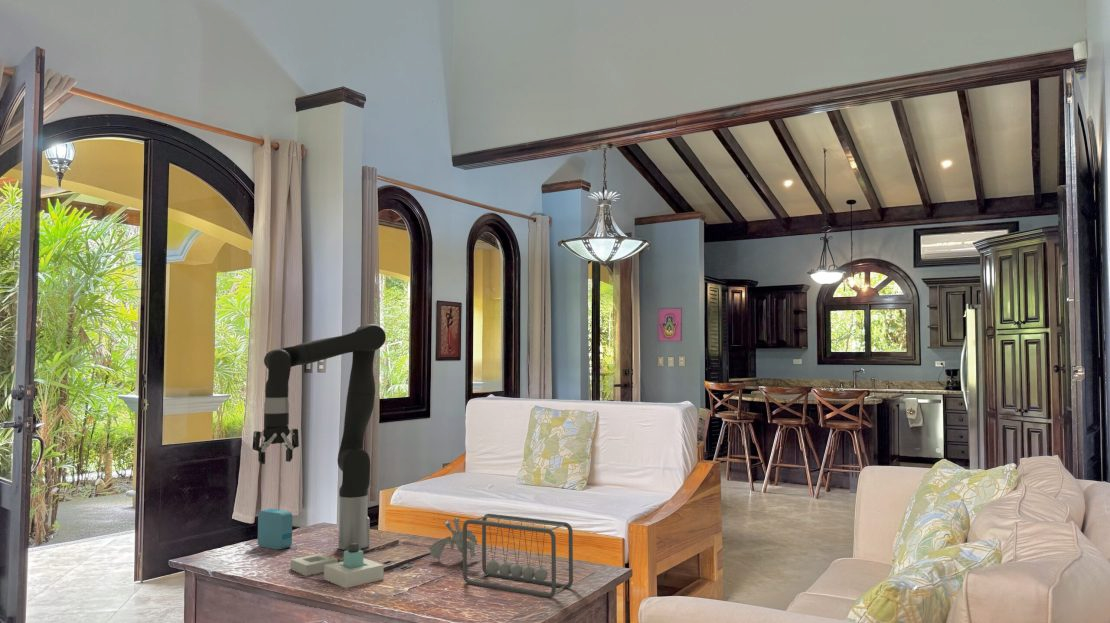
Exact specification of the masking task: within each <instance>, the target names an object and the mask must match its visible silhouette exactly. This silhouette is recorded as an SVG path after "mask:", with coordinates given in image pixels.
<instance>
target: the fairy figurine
mask: <svg viewBox="0 0 1110 623" xmlns="http://www.w3.org/2000/svg"><path fill="white" fill-rule="evenodd" d="M452 522H453V524H454V527H455V529H454V528H453V527H452V523H451V522H450V520H449V519H448V520H445V522H444V526H445V527H447V529H448V530H449V532H451V534H452V536H445V537H444V538H441V539H439V540H437V541H435V542H434V543H432V544H431V545H430V546H429V547H428V550H429V555H432V557H433V558H432V559H433V560H434V559H437V561H441V556H442V554H443V552H444V549H445V547H446V546H447V544H448V543H449V545H450V548H451V550H452V551H453V550H454V546H455V545H454V544H456V548H457V550H458V551H459V552H460V553H461V557H462V559H463V530H462V528H461V526H460V524H459V523H460V518H459V517H457V518H453V519H452ZM477 542H478V540H477V539H476V535H475V534H474V533H473V531H472V530H470V529H467V550H470V551H469V555H470V559H473V557H475V556H477V554H478V553H479V551H475V547H478V546H479V545H478V543H477Z"/></svg>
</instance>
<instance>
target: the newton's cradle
mask: <svg viewBox="0 0 1110 623" xmlns="http://www.w3.org/2000/svg"><path fill="white" fill-rule="evenodd" d="M487 519H493V520H491V521H489V520H487ZM496 520H497V521H498V522H496ZM500 520H504V521H503V522H500ZM511 521H513V522H516V523H506V522H511ZM519 523H520V524H519ZM523 523H529V524H525V525H522V524H523ZM531 524H532V526H529V525H531ZM534 524H538V525H539V526H533V525H534ZM468 525H477V526H478V525H479V526H481V536H482V537H481V538H482V539H481V545H482V546H481V559H482V560H481V565H482V566H481V568H482V569H481V570H482V571H483V573H484V575H481V576H479V577H477V578H474V579H469V578H468V567H467V566H468V563H467V562H468V549H467V541H468V538H467V530H468ZM546 525H547V526H555V527H552V528H546V527H541V526H546ZM487 527H489V528H488V529H489V530H491V527H494V528H497V530H496V531H497V532H496V534H498V532H499V528H500V532H501V533H500V535H501V536H503V530H502V528H503V529H508V532H510V529H511V531H512V532H514V530H519V532H520V533H519V538H522V537H521V536H522V531H523V533H524V536H526V531H527V532H531V536H533V535H534V533H535V535H536V538H538V533H542V534H543V535H546V534H548V535H549V536H550V538H551V539H550V540H551V543H550V544H551V546H550V547H551V548H550V550H551V581H549V580H546V579H547V578H548V571H547V569H546V568H544V567H542V566H543V561H540V558H538V562H539V564H538V565H539V567H537V568H536V569H535V567H534V566H532V565H531V561H529V559H528V558H531V556H532V555H531V554H532V550H529V552H530V554H529V557H528V556H526V560H527V563H528V564H527V565H525V566H523V565H522V564H520V563H519V562H518V561H515V563H514V564H511V563H510V562H508V555H506V557H505V556H503V562H501V563H499V562H498V561H497V560H496V559H495V558H496V557H495V556H496V552H494V555H493V556H491V560H488V562H487ZM560 527H565V528H567V530H568V582H567V583H561V582H557V565H556V564H557V556H556V555H557V554H556V553H557V549H556V548H557V543H556V541H557V537H556V534H555V533H554V531H553V530H555V529H559V528H560ZM462 531H463V558H462V577H463V580H464V582H465V583H466V584H469V585H473V586H479V587H482V588H484V587H485V588H489V589H497V590H502V591H507V592H513V593H520V594H524V595H525V594H526V595H531V596H535V597H540V598H547V599H548V598H549V599H550V598H552V597H554V596H555V594H556V592H557V593H558V592H560V590H562V589H570V588H571V587H572V585H573V583H574V558H573V556H574V553H573V552H574V543H573V542H574V539H573V538H574V537H573V534H574V531H573V527H572V525H570V524H569V523H568V522H565V521H558V520H557V521H556V520H548V519H540V518H531V517H524V516H523V517H521V516H513V515H505V514H495V513H486V514H484V516H482V517H481V516H480V517H478V518H475V519H470V518H469V519H466V520H465V521H464V523H463V525H462ZM533 532H534V533H533ZM491 534H492V533H489V538H490V539H489V540H490V541H492V536H491ZM514 536H515V535H514V534H512V537H513V541H515V537H514ZM509 539H510V534H508V536H507V542H509ZM526 540H527V539H526V538H524V542H525V545H527V542H526ZM497 541H498V536H496V538H495V542H497ZM501 541H502V542H501V543H502V545H504V539H503V537H501ZM542 542H543V543H542V547H544V543H545V538H543V541H542ZM518 543H519V544H518V549H520V546H521V545H520V544H521V541H519V542H518ZM532 543H533V539H531V542H530V547H532V545H533V544H532ZM536 544H537V547H539V541H538V539H536ZM506 547H507V548H506V552H509V551H508V550H509V545H507V546H506ZM513 548H514V550H516V544H515V543H513ZM490 549H491V550H490V551H491V553H493V546H492V544H490ZM496 549H497V544H495V545H494V550H496ZM504 549H505V548H504V546H502V552H503V554H505V550H504ZM527 550H528V548H527V547H525V551H526V552H525V554H528V551H527ZM539 550H540V549H537V554H538V556H540V552H539ZM541 552H542V553H541V558H543V555H544V550H542V551H541ZM516 554H517V553H516V552H514V557H515V559H519V557H520V551H518V555H516ZM487 576H488V577H495V578H500V579H507V580H512V581H519V582H525V583H530V584H537V585H543V586H549V587H551V591H550V592H543V591H537V590H532V589H526V588H519V587H515V586H514V587H513V586H509V585H501V584H497V583H490V582H484V581H479V579H482V578H485V577H487ZM557 588H558V589H557Z"/></svg>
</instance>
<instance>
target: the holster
mask: <svg viewBox="0 0 1110 623" xmlns="http://www.w3.org/2000/svg"><path fill="white" fill-rule="evenodd" d="M338 560H339V559H338V558H336V557H332V556H330V555H327V554H325V553H321V552H320V553H317V554H311V555H306V556H301V557H296V558H291V559H290V570H291V569H292V571H293V570H294V572H295V571H296V573H298V572H299V573H298V574H300V573H301V574H300V575H303V574H304V575H303V576H305V575H306V576H305V577H308V576H307V575H309V576H312V575H311V574H313V575H317V573H318V574H321V572H323V573H324V565H328V564H333V563H337V562H338Z"/></svg>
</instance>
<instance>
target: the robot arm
mask: <svg viewBox="0 0 1110 623" xmlns="http://www.w3.org/2000/svg"><path fill="white" fill-rule="evenodd" d="M386 337H387V336H386V332H385V330H384V328H382V327H381V326H380V325H377V324H373V323H369V324H361V325H360V326H359V327H357V328H356V329H355V331H352V332H349V333H347V334H343V335H338V336H333V337H326V338H320V339H315V340H310V341H307V342H302V343H299V344H296V345H293V346H287V347H281V348H277V349H272V350H270V351H268V352H267V353H266V354H265V356H264V358H263V364H264V366H265V367H266V368H267V369H268V372H267V373H268V375H267V381H266V382H265V390H264V392H265V393H264V394H265V397H264V402H263V403H264V405H263V407H264V408H263V430H262V431H259V430H254V431H253V433H252V434H253V435H252V446H251V447H252V450H253V451H256V452H258V455H257V456H258V458H257V459H258V463H259V464H260V465H265V464H266V452H265V451H266V450H267V449H268V447H269V446H271V445H274V444H275V445H277V444H282V445H284V447H285V448H286V449H285V461H286V462H288V463H290V462H292V460H293V451H294V449H295V448H298V447H299V445H300V443H299V440H300V439H299V428H289V426H290V422H289V421H290V415H289V414H290V402H289V390H290V389H289V383H290V382H289V381H290V377H291V376H290V375H291V369H292V368H293V367H296V366H304V365H308V364H309V365H310V364H312V363H317V362H321V361H323V360H327V359H331V358H334V357H338V356H340V355H344V354H345V355H346V354H349V353H352V360H351V361H352V362H351V369H350V374H349V380H348V381H349V382H348V388H347V394H346V403H345V413H344V420H343V432H342V436H341V437H342V439H341V442H340V446H339V450H338V453H337V465H338V469H340V470H341V471H342V479H341V480H342V481H341V486H340V487H339V490H338V491H339V492H338V494H339V497H338V498H339V500H338V549H339V550H341V549H342V551H347V550H348V544H350V543H359V550H362V548H363V549H366V548H367V547H370V540H371V538H370V537H371V536H370V532H371V531H370V529H371V528H370V526H371V524H370V521H371V519H370V517H369V516H368V495H369V494H368V492H369V490H368V489H369V487H370V481H371V459H370V456H369V453H368V452H367V451H366V450H364V441H365V440H364V439H365V432H366V430H367V426H368V424H369V421H370V419H371V417H372V413H373V410H374V405H375V398H376V381H375V376H374V367H373V366H374V359H375V353H376V351H377V350H378V349H381V348H382V347H383V346H384V344H385V342H386V339H387V338H386ZM289 435H290V436H291V441H290V440H289V438H288V437H289ZM263 437H264V439H263V440H262V442H261V438H263ZM260 443H261V444H260Z"/></svg>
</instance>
